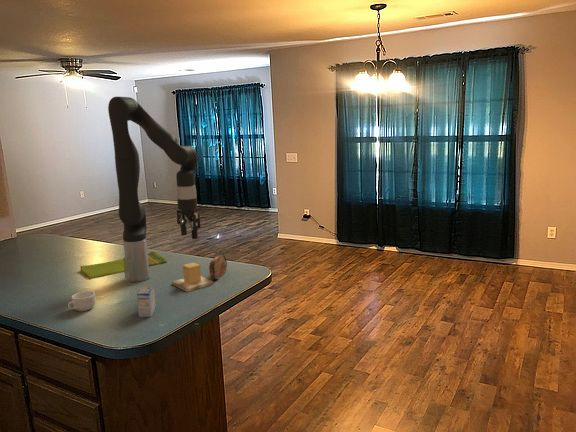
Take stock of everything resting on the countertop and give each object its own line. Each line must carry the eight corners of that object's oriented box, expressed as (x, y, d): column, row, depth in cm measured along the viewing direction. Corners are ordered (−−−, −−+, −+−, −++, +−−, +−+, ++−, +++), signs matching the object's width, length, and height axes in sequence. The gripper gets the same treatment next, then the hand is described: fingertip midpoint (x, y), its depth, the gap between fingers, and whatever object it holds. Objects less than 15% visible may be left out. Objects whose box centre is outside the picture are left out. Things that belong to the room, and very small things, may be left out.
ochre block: (190, 284, 185) (189, 267, 183) (184, 281, 188) (182, 265, 187) (201, 281, 188) (200, 265, 186) (194, 278, 191) (193, 262, 190)
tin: (215, 282, 190) (214, 262, 188) (208, 282, 191) (207, 262, 189) (227, 270, 204) (226, 252, 203) (220, 270, 205) (219, 252, 203)
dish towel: (168, 263, 219) (167, 256, 218) (90, 280, 197) (89, 273, 196) (155, 256, 230) (154, 250, 230) (80, 272, 209) (79, 265, 208)
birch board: (187, 291, 180) (186, 288, 180) (172, 284, 189) (172, 281, 188) (213, 284, 188) (212, 281, 187) (197, 277, 196) (197, 274, 196)
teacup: (88, 303, 171) (87, 289, 170) (101, 307, 167) (99, 293, 166) (63, 312, 163) (61, 298, 162) (75, 317, 159) (73, 302, 157)
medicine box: (143, 308, 165) (141, 285, 163) (156, 307, 165) (154, 284, 163) (138, 317, 157) (136, 293, 155) (152, 316, 157) (149, 293, 156)
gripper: (204, 197, 178) (206, 238, 181) (186, 194, 188) (188, 232, 192) (187, 200, 173) (190, 241, 176) (169, 196, 184) (172, 235, 187)
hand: (189, 236), depth 184 cm, fingers open, 8 cm apart
